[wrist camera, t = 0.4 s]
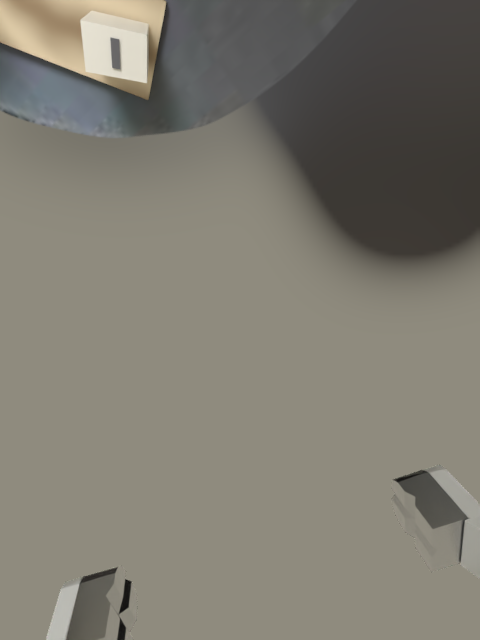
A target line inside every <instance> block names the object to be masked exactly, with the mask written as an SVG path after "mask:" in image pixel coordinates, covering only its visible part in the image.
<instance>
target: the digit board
mask: <svg viewBox="0 0 480 640" xmlns="http://www.w3.org/2000/svg"><path fill="white" fill-rule="evenodd" d="M165 7H166V1H164V0H0V42H1V43H3V44H6V45H8V46H11V47H13V48H16V49H18V50H21V51H24V52H26V53H29V54H31V55H34V56H36V57H39V58H41V59H44V60H47V61H49V62H52V63H54V64H57V65H59V66H62V67H64V68H67V69H70V70H72V71H75V72H77V73H80V74H82V75H85V76H88V77H90V78H93V79H95V80H98V81H100V82H103V83H105V84H108V85H111V86H113V87H116V88H118V89H121V90H123V91H126V92H128V93H131V94H134V95H136V96H139V97H141V98H144V99H146V100H148V99H149V94H150V88H151V83H152V77H153V72H154V67H155V61H156V56H157V50H158V45H159V39H160V34H161V28H162V23H163V18H164V12H165ZM90 11H96V12H101V13H105V14H109V15H113V16H118V17H122V18H126V19H131V20H135V21H139V22H144V23H148V24H149V67H148V78H147V83H143V82H138V81H132V80H127V79H122V78H116V77H111V76H106V75H100V74H95V73H90V72H86V70H85V61H84V51H83V42H82V32H81V23H80V20H81V19H82V18H83V17H84V16H86V15H87V14H88V13H89V12H90Z"/></svg>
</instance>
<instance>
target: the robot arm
mask: <svg viewBox="0 0 480 640" xmlns="http://www.w3.org/2000/svg"><path fill="white" fill-rule="evenodd" d="M391 488H392V490H393V491H394V493H395V495H394V496H393V497H392V507H393V510H394V513H395V516H396V518H397V520H398V522H399V524H400V525H401V527H402V528H403V530H404V531H405V533H407V534H409V535H410V536H412V537H414V538H415V548H416V550H417V551H418V553H419V554H420V556H421V557H422V559H423V560H424V562H425V563H426V565H427V566H428V568H429V569H430V571H431V572H433V571H436V570H440V569H443V568H446V567H450V566H453V565H456V564H460V563H461V566H462V567H464V568H465V569H467V570H468V571H469V572H471V573H472V574H474V575H475V576H477V577H478V578H480V504H479V503H478V502H477V501H476V500H475V499H474V498H473V497H472V496H471V495H470V494H469V493H468V492H467V491H466V489H465V488H463V486H462V485H461V484H460V483H459V482H458V481H457V480H456V479H455V478H454V477H453V476H452V475H451V474H450V473H449V472H448V471H447V470H446V469H445V468H444V467H443V466H441V465H437V466H434V467H431V468H428V469H425V470H420V471H417V472H414V473H411V474H408V475H405V476H402V477H399V478H396V479H393V480H392V482H391ZM125 577H126V571H125V570H124V568H123V567H122V566H118V567H114V568H111V569H107V570H104V571H101V572H97V573H94V574H91V575H88V576H83V577H80V578H77V579H74V580H71V581H68V582H65V584H64V585H63V587H62V589H61V590H60V594H59V597H58V600H57V604H56V607H55V611H54V614H53V617H52V621H51V624H50V628H49V631H48V634H47V638H46V640H133V638H132V636H131V634H130V631H131V629H132V628H133V626H134V624H135V622H136V620H137V594H136V590H135V587H134V585H133V583H132V582H131V581H129V580H126V579H125Z"/></svg>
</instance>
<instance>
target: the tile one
mask: <svg viewBox="0 0 480 640" xmlns="http://www.w3.org/2000/svg"><path fill="white" fill-rule="evenodd" d="M80 23H81V32H82V42H83V51H84V61H85V70H86V72H90V73H95V74H100V75H106V76H111V77H116V78H122V79H127V80H132V81H138V82H143V83H147V78H148V67H149V24H148V23H144V22H139V21H135V20H131V19H126V18H122V17H118V16H113V15H109V14H105V13H101V12H96V11H90V12H89V13H88V14H87V15H86V16H84V17H83V18H82V19H81V20H80Z"/></svg>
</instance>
